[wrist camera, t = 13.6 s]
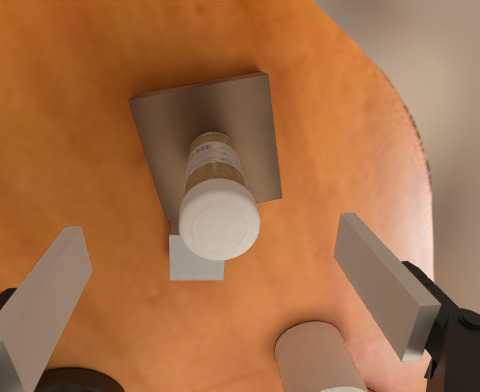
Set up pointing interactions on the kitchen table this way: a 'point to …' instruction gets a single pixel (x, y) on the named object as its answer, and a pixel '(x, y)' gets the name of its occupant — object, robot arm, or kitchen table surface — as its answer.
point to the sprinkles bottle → (217, 201)
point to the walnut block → (209, 120)
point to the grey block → (190, 260)
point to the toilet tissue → (316, 360)
